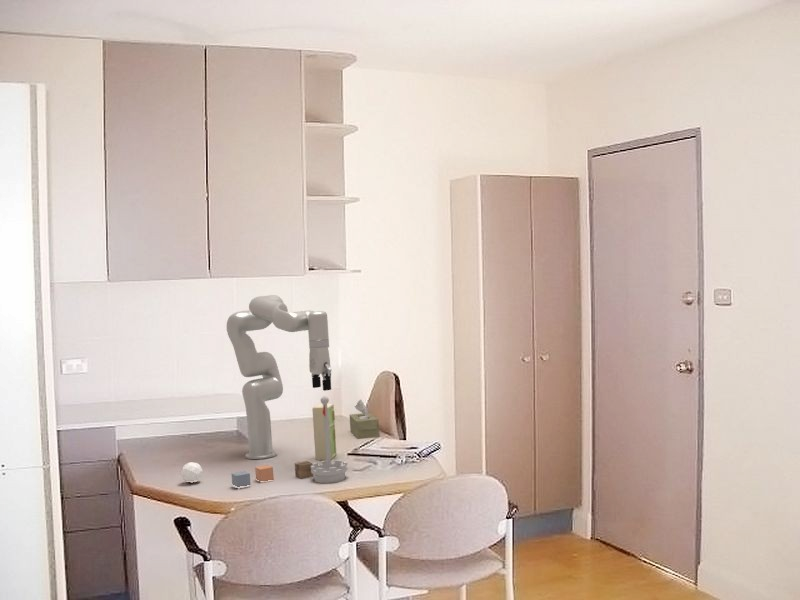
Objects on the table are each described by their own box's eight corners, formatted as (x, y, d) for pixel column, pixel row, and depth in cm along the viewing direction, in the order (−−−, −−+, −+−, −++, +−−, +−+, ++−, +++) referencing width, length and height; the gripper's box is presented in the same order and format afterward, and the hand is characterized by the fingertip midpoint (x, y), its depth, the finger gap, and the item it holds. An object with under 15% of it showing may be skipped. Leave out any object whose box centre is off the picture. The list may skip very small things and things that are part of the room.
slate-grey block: (232, 487, 322) (231, 473, 322) (245, 484, 325) (244, 470, 324) (237, 489, 318) (236, 475, 317) (250, 487, 320) (249, 473, 320)
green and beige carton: (333, 460, 355) (329, 407, 354) (315, 460, 357) (311, 407, 356) (338, 455, 363) (335, 403, 362) (321, 455, 364) (317, 404, 363)
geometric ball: (187, 491, 331) (174, 473, 332) (204, 478, 336) (191, 462, 337) (192, 484, 326) (179, 466, 327) (209, 472, 331) (196, 454, 332)
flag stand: (315, 475, 332) (310, 394, 331) (350, 473, 331) (345, 392, 329) (308, 484, 319) (302, 400, 318) (344, 482, 318) (339, 398, 316)
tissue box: (350, 432, 411) (348, 397, 410) (371, 429, 413) (369, 395, 413) (357, 439, 393) (355, 403, 392) (379, 437, 395) (377, 401, 394)
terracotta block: (255, 480, 330) (255, 467, 329) (268, 478, 332) (267, 464, 332) (260, 483, 325) (259, 469, 325) (273, 480, 328) (272, 467, 327)
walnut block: (295, 476, 332) (294, 463, 332) (308, 474, 334) (307, 460, 334) (301, 479, 328) (300, 465, 327) (313, 476, 330) (312, 463, 330)
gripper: (301, 343, 348) (304, 387, 349) (319, 346, 333) (322, 392, 334) (319, 341, 352) (321, 385, 353) (337, 344, 337) (340, 390, 337)
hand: (321, 388), depth 343 cm, fingers open, 9 cm apart
